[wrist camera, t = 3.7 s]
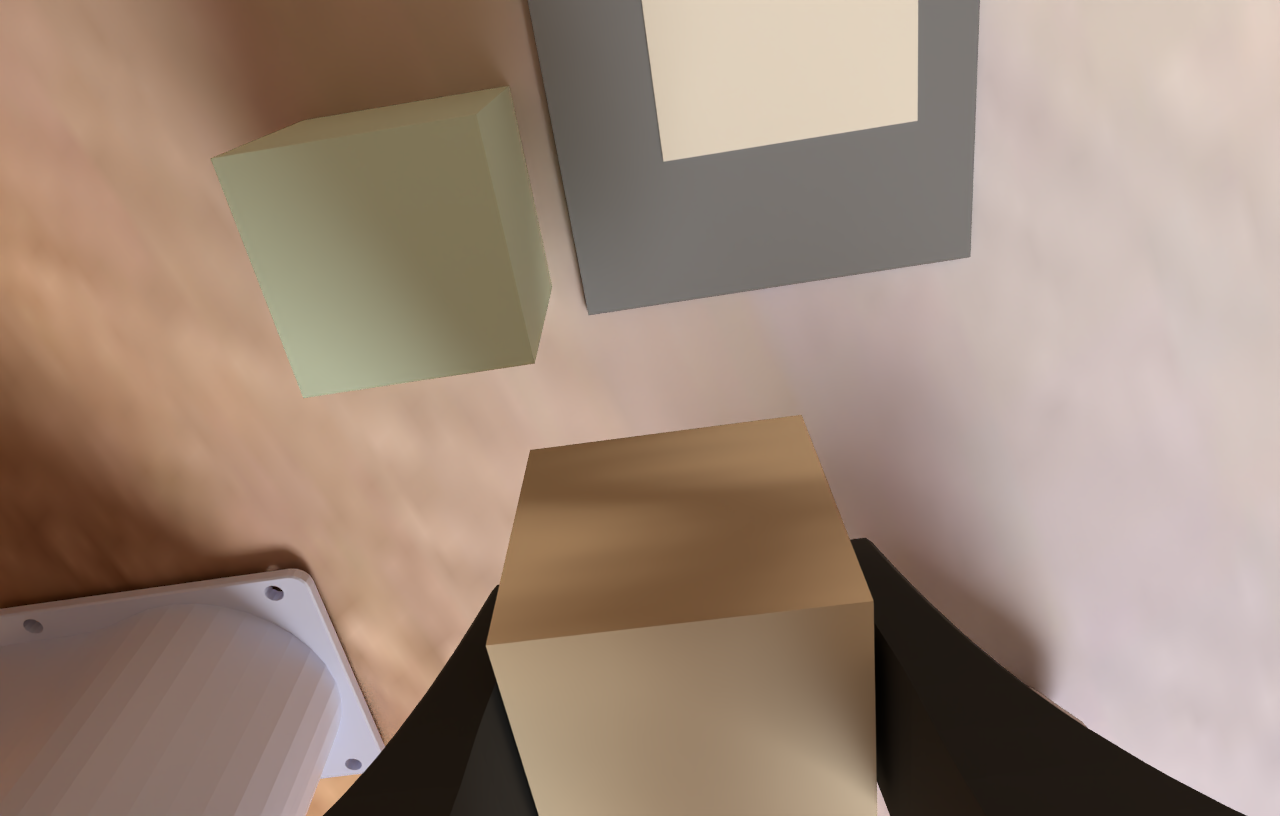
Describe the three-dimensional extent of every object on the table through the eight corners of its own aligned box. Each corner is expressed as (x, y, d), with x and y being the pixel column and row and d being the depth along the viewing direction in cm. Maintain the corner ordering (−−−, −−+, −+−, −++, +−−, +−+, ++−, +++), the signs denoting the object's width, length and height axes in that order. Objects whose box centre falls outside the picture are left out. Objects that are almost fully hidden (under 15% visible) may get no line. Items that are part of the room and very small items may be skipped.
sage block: (368, 314, 19) (303, 398, 15) (304, 119, 17) (210, 158, 13) (552, 285, 19) (534, 363, 15) (509, 85, 17) (476, 114, 13)
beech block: (578, 650, 16) (559, 880, 12) (530, 450, 13) (485, 645, 9) (814, 623, 15) (877, 849, 11) (800, 414, 13) (873, 601, 9)
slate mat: (588, 312, 19) (588, 315, 19) (490, -195, 15) (488, -198, 15) (967, 254, 19) (970, 257, 19) (986, -287, 14) (991, -291, 14)
